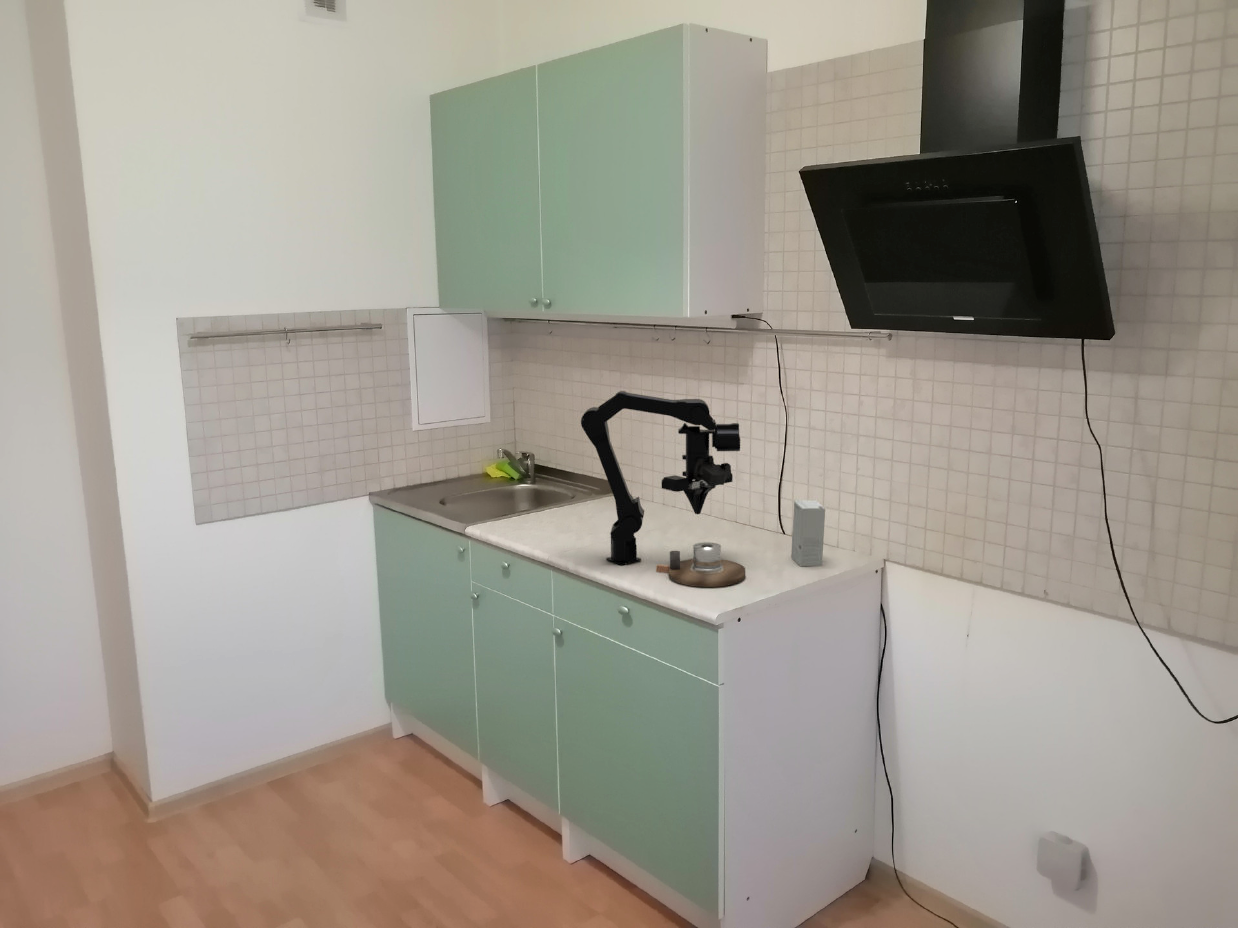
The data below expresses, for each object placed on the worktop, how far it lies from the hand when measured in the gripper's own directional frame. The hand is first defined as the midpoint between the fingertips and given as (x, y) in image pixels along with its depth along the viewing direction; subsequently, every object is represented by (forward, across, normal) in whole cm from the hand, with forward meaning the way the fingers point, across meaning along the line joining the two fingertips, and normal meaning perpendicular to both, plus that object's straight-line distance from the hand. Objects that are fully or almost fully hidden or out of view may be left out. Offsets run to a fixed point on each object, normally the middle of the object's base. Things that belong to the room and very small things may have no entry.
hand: (697, 513), depth 240 cm
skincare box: (+12, +20, -18) cm, 30 cm away
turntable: (+12, -7, -11) cm, 18 cm away
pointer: (+12, -12, -1) cm, 17 cm away
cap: (+10, -7, -11) cm, 16 cm away
